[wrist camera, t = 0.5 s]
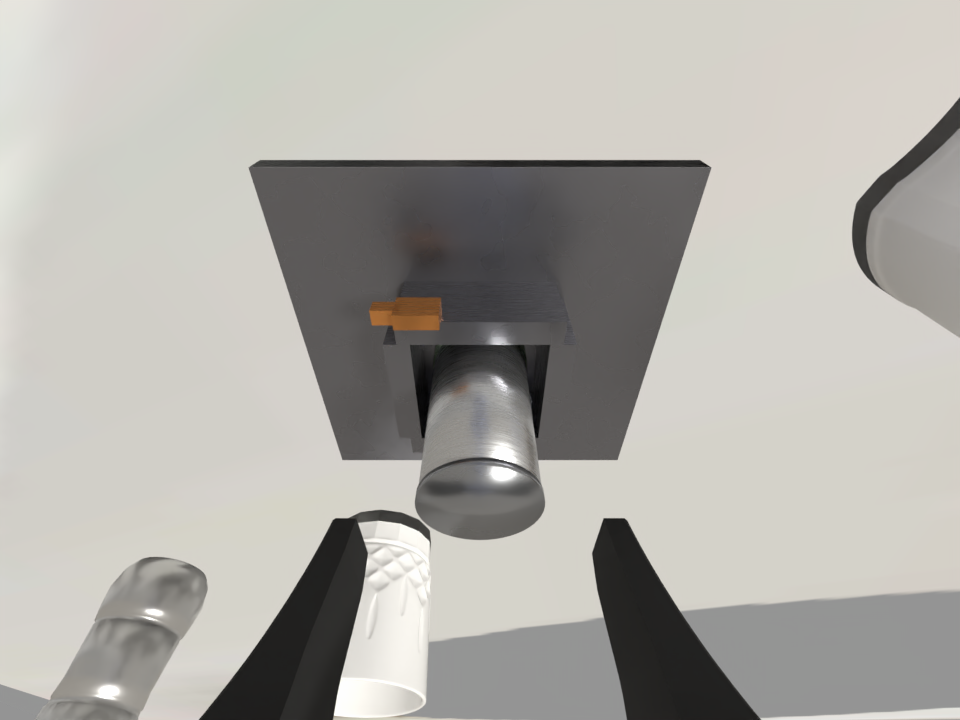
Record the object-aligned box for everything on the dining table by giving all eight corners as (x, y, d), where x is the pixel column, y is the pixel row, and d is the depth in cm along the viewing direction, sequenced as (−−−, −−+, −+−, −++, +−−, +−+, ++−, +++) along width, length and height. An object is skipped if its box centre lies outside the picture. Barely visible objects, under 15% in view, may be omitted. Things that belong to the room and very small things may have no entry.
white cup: (356, 563, 35) (321, 721, 27) (314, 510, 30) (255, 684, 22) (450, 553, 34) (441, 714, 26) (422, 497, 29) (400, 674, 21)
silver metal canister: (431, 312, 18) (406, 465, 12) (528, 313, 18) (553, 465, 12) (437, 384, 21) (419, 540, 15) (522, 384, 21) (540, 540, 15)
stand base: (260, 160, 15) (195, 201, 12) (699, 160, 15) (764, 201, 12) (346, 446, 25) (325, 515, 22) (613, 446, 25) (634, 515, 22)
